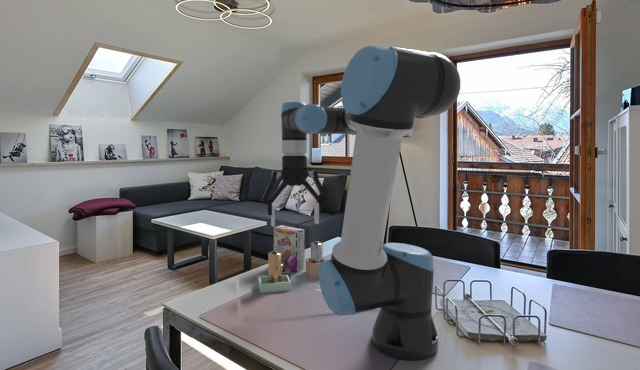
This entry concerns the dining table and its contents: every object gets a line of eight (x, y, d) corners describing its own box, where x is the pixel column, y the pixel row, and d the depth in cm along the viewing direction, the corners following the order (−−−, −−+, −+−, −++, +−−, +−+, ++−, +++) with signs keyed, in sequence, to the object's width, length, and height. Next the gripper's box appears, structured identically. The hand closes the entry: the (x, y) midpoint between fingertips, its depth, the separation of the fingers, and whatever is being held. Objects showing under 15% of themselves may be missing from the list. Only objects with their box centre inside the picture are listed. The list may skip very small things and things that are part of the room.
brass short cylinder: (284, 278, 125) (284, 265, 124) (273, 279, 124) (273, 266, 123) (283, 274, 128) (283, 262, 128) (272, 275, 127) (272, 262, 127)
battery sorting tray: (336, 289, 120) (336, 271, 119) (260, 296, 114) (260, 277, 113) (323, 272, 135) (323, 256, 134) (256, 278, 129) (256, 261, 129)
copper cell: (280, 284, 121) (280, 249, 120) (282, 288, 117) (281, 252, 116) (267, 285, 120) (267, 250, 119) (269, 289, 116) (268, 253, 115)
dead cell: (323, 275, 129) (323, 242, 128) (312, 276, 128) (312, 243, 127) (320, 271, 133) (320, 239, 132) (309, 272, 132) (309, 240, 131)
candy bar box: (272, 270, 138) (272, 227, 136) (281, 267, 142) (281, 224, 140) (296, 277, 132) (296, 231, 130) (305, 273, 136) (305, 228, 134)
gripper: (330, 154, 120) (330, 220, 121) (251, 155, 113) (252, 224, 115) (337, 154, 112) (337, 224, 114) (253, 155, 106) (255, 229, 108)
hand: (295, 224), depth 115 cm, fingers open, 13 cm apart
